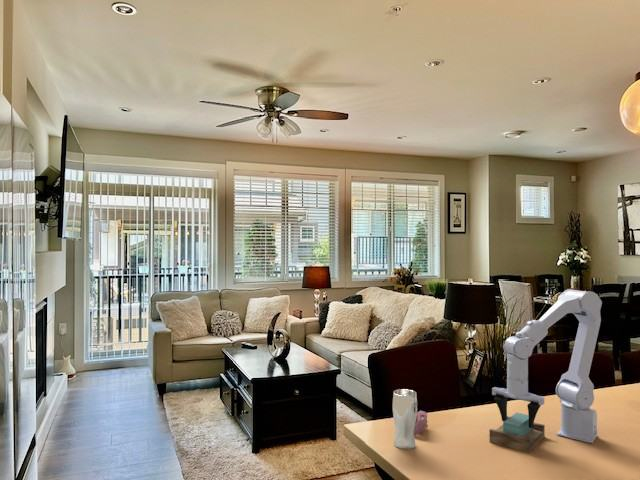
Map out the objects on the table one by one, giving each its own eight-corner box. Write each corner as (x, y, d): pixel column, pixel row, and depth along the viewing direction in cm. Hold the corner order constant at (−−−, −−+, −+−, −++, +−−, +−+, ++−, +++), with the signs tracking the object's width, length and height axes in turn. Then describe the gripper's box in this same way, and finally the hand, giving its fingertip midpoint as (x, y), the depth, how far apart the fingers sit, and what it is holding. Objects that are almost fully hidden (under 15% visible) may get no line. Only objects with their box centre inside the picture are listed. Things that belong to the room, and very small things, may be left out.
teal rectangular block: (531, 429, 142) (531, 416, 142) (518, 440, 134) (518, 426, 134) (516, 425, 145) (516, 412, 145) (503, 435, 137) (503, 422, 137)
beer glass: (402, 451, 131) (402, 397, 131) (387, 442, 137) (387, 390, 137) (422, 447, 134) (422, 394, 134) (406, 438, 140) (407, 387, 140)
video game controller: (420, 442, 141) (431, 422, 140) (406, 434, 142) (417, 414, 141) (420, 430, 151) (430, 411, 150) (407, 422, 151) (417, 403, 151)
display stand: (544, 436, 142) (544, 425, 142) (528, 452, 131) (528, 440, 131) (507, 427, 149) (507, 416, 149) (489, 441, 138) (489, 429, 138)
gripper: (488, 375, 142) (488, 421, 142) (539, 385, 132) (539, 434, 132) (496, 371, 147) (496, 415, 147) (546, 380, 138) (546, 426, 137)
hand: (517, 423), depth 140 cm, fingers open, 7 cm apart
